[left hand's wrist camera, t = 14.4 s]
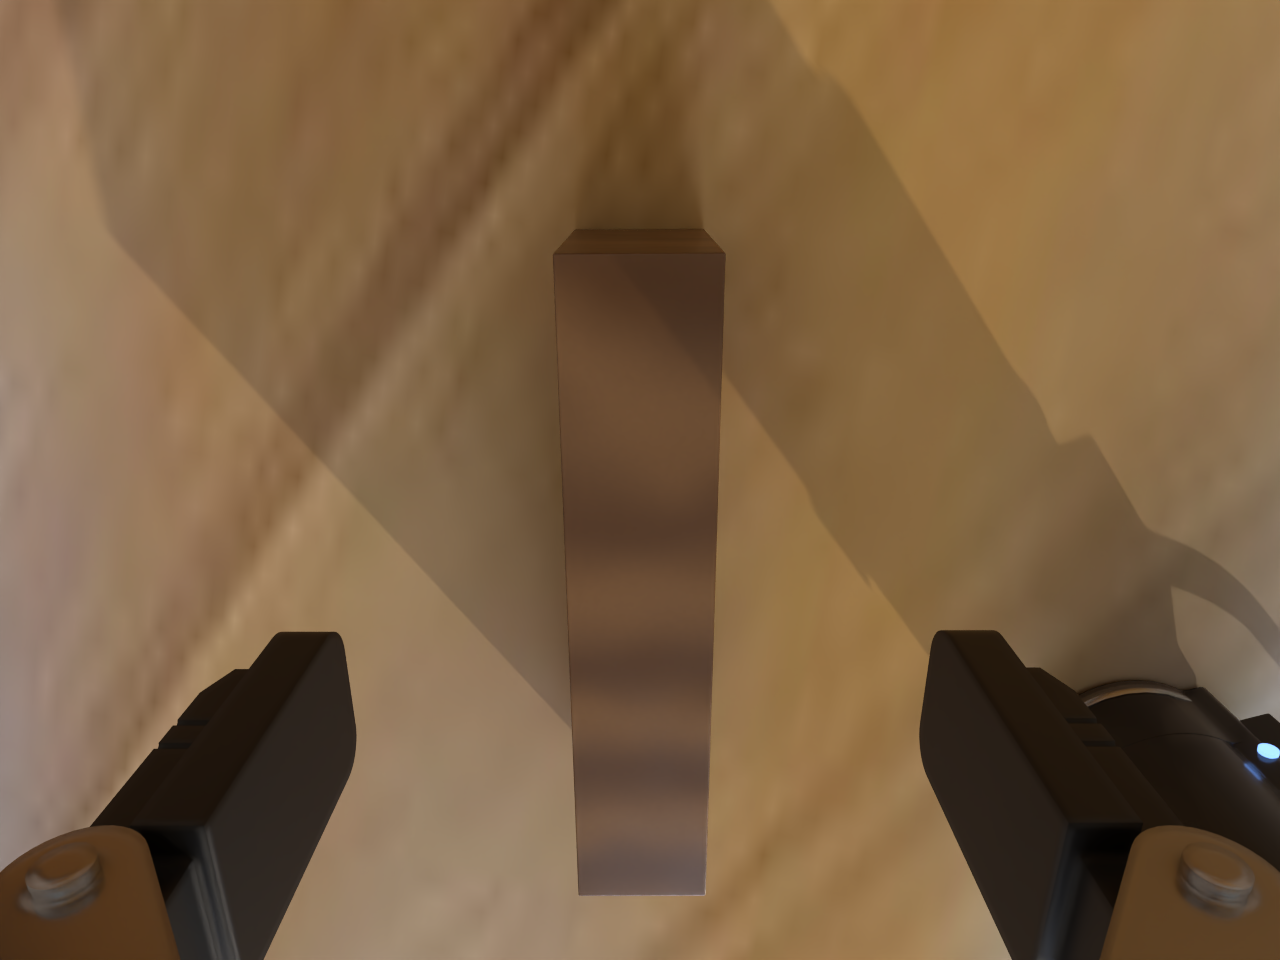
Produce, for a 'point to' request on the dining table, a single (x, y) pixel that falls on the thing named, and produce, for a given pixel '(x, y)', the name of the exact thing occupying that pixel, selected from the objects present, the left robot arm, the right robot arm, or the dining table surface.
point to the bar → (640, 546)
